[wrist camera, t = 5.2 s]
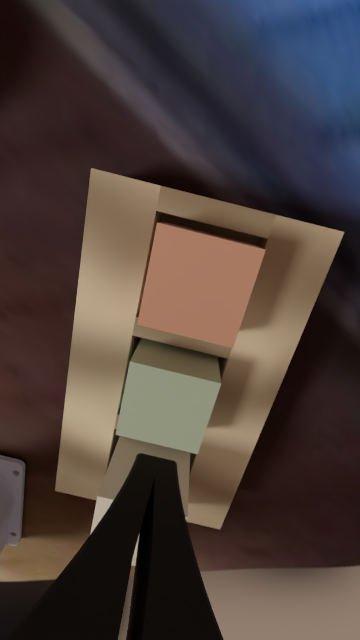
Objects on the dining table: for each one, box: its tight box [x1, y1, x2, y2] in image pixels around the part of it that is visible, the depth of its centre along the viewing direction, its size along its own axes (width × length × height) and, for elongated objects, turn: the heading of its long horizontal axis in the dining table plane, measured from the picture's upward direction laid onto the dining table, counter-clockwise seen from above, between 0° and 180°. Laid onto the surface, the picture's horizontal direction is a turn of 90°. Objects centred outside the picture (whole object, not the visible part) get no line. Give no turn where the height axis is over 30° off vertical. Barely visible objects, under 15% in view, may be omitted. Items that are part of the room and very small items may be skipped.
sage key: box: [116, 338, 221, 454], centre depth 15 cm, size 4×4×4 cm
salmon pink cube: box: [137, 223, 266, 348], centre depth 13 cm, size 4×4×4 cm
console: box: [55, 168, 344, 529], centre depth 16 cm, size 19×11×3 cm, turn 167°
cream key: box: [90, 436, 190, 566], centre depth 15 cm, size 4×4×4 cm
